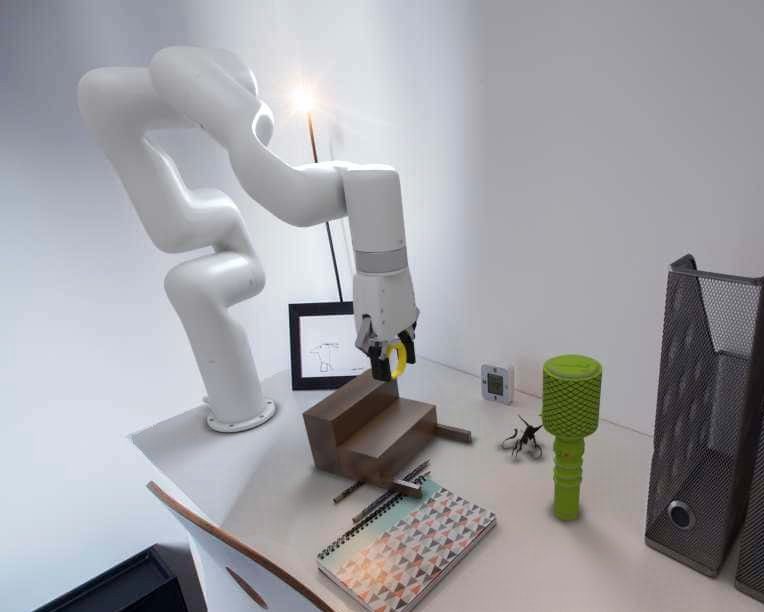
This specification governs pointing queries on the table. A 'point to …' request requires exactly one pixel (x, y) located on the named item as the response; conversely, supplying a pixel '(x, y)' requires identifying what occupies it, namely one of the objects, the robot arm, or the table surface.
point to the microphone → (570, 422)
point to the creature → (525, 437)
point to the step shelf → (373, 432)
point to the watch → (402, 356)
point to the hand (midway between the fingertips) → (394, 370)
